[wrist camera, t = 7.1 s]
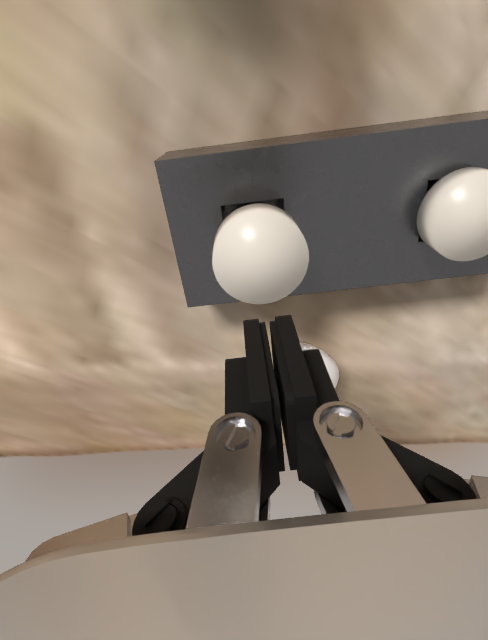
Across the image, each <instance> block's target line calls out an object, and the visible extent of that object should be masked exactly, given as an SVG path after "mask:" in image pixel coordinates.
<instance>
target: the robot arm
mask: <svg viewBox="0 0 488 640" xmlns="http://www.w3.org/2000/svg"><path fill="white" fill-rule="evenodd" d="M243 324H244V337H245V349H246V357H243V358H234V359H226V360H225V415H224V416H222V417H220V418H219V419H217V420H216V421H215V422H214V423H213V425H212V426H211V428H210V430H209V432H208V436H207V440H206V445H205V449H204V451H203V452H202V453H201V454H200V455H199V456H197V457H196V458H195V459H194V460H193V461H192V462H191V463H190V464H189V465H187V466H186V467H185V468H184V469H183V470H182V471H181V472H180V473H179V474H178V475H177V476H175V477H174V478H173V479H172V480H171V481H170V482H169V483H168V484H167V485H165V486H164V487H163V488H162V489H161V490H160V491H159V492H158V493H157V494H156V495H155V496H153V497H152V498H151V499H150V500H149V501H148V502H147V503H146V504H145V505H144V506H143V507H142V508H141V510H140V511H139V512H138V513H137V514H134V515H131V516H129V515H128V514H127V513H124V514H121V515H118V516H115V517H112V518H110V519H106V520H104V521H101V522H97V523H94V524H92V525H89V526H86V527H83V528H80V529H77V530H74V531H71V532H68V533H65V534H62V535H59V536H56V537H53V538H51V539H49V540H47V541H45V542H43V543H42V544H41V545H39V546H38V547H37V548H36V549H35V550H34V551H32V553H31V554H30V555H29V557H28V558H27V560H26V561H25V562H24V563H22V564H20V565H17V566H15V567H14V568H12V569H10V570H8V571H6V572H4V573H2V574H0V640H488V477H482V476H471V478H470V480H469V479H462V477H460V476H459V475H457V474H456V473H454V472H453V471H451V470H449V469H447V468H445V467H443V466H441V465H439V464H437V463H435V462H433V461H431V460H429V459H427V458H425V457H423V456H421V455H419V454H417V453H415V452H413V451H411V450H409V449H407V448H405V447H403V446H401V445H399V444H397V443H395V442H393V441H391V440H389V439H387V438H385V437H383V436H381V435H380V434H379V433H378V431H377V430H376V428H375V427H374V425H373V424H372V422H371V421H370V420H369V418H368V417H367V415H366V414H365V413H364V412H363V411H362V410H361V409H360V408H358V407H357V406H355V405H353V404H350V403H347V402H341V401H339V399H338V396H337V394H336V391H335V389H334V386H333V384H332V381H331V379H330V376H329V373H328V371H327V368H326V366H325V363H324V361H323V358H322V356H321V353H320V351H319V349H311V350H303V351H302V348H301V345H300V342H299V339H298V336H297V332H296V329H295V326H294V323H293V320H292V317H291V315H286V316H278V317H275V321H270V332H271V344H272V356H273V363H272V358H271V352H270V347H269V341H268V336H267V330H266V325H265V322H262V323H259V319H253V320H244V321H243ZM273 367H274V368H273ZM281 421H282V427H283V432H284V438H285V444H286V449H287V454H288V460H289V465H290V470H297V472H298V478H299V481H302V482H303V483H305V484H306V485H308V486H309V487H311V488H312V489H313V490H314V494H315V498H316V501H317V504H318V506H319V508H320V511H321V514H322V515H314V516H304V517H295V518H286V519H276V520H270V495H271V494H272V493H273V492H274V491H275V490H276V488H277V487H278V486H279V485H280V478H279V472H280V471H285V466H284V453H283V440H282V428H281Z"/></svg>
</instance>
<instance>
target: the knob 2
mask: <svg viewBox="0 0 488 640" xmlns="http://www.w3.org/2000/svg"><path fill="white" fill-rule="evenodd" d="M417 229H418V233H419V235H420V237H421V239H422V240H423V241H424V242H425V243H426V244H427V245H428V246H430V247H431V248H433V249H434V250H435V251H437V252H438V253H440V254H441V255H443V256H444V257H446V258H448V259H450V260H454V261H471V260H475V259H478V258H481V257H484V256H486V255H488V169H484V168H480V167H466V168H461V169H458V170H455V171H453V172H451V173H449V174H447V175H446V176H444V177H443V178H441V179H440V180H439V179H435V180H428V185H427V191H426V195H425V197H424V199H423V200H422V203H421V205H420V207H419V210H418V214H417Z"/></svg>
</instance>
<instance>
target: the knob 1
mask: <svg viewBox="0 0 488 640" xmlns="http://www.w3.org/2000/svg"><path fill="white" fill-rule="evenodd" d="M308 263H309V250H308V246H307V243H306V240H305V238H304V236H303V234H302V233H301V231H300V229H299V227H298V225H297V224H296V222H295V221H294V219H293V218H292V217H291V216H290V215H289V214H288V213H287V212H285V211H284V210H282V209H280V208H278V207H276V206H273V205H269V204H262V203H257V204H250V205H246V206H243V207H240V208H238V209H236V210H235V211H233V212H232V213H231V214H229V215H228V216H227V217H226V218H225V219H224V221H223V222H222V223H221V225H220V226H219V228H218V230H217V233H216V236H215V240H214V247H213V255H212V265H213V271H214V274H215V277H216V279H217V281H218V283H219V284H220V286H221V287H222V288H223V289H224V290H225V291H226V292H227V293H228V294H229V295H231V296H232V297H234V298H235V299H237V300H240V301H242V302H246V303H250V304H267V303H272V302H275V301H278V300H280V299H282V298H284V297H286V296H288V295H289V294H290V293H292V292H293V291H294V290H295V289H296V288H297V287H298V286H299V284H300V283H301V281H302V280H303V278H304V276H305V274H306V271H307V268H308Z"/></svg>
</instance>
